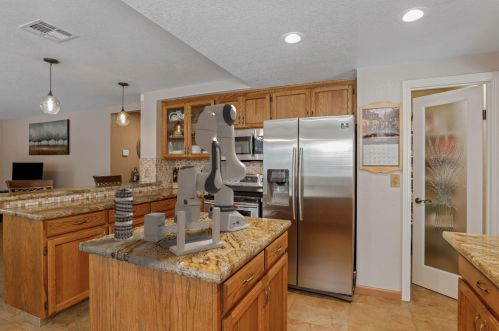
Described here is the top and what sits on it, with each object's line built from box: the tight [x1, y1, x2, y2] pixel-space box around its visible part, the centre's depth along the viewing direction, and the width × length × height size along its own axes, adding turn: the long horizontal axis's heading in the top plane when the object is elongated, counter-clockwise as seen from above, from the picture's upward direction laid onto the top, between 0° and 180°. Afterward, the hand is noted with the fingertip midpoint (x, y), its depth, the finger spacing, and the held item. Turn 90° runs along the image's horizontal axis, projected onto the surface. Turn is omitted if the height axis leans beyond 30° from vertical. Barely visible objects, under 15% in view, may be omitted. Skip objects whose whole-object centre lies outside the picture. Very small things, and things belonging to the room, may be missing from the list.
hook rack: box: [169, 207, 224, 257], centre depth 118 cm, size 22×8×18 cm, turn 128°
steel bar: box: [160, 220, 210, 234], centre depth 126 cm, size 24×2×2 cm, turn 128°
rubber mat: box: [158, 234, 212, 250], centre depth 127 cm, size 24×8×1 cm, turn 128°
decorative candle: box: [113, 187, 135, 242], centre depth 131 cm, size 9×9×25 cm
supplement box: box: [143, 212, 166, 243], centre depth 130 cm, size 7×7×13 cm
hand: (186, 228), depth 126 cm, fingers closed on steel bar, 2 cm apart
